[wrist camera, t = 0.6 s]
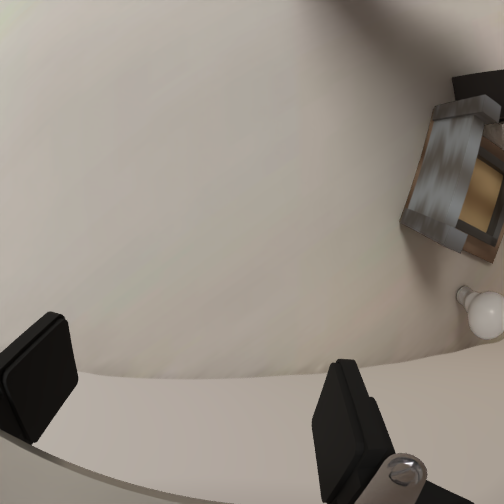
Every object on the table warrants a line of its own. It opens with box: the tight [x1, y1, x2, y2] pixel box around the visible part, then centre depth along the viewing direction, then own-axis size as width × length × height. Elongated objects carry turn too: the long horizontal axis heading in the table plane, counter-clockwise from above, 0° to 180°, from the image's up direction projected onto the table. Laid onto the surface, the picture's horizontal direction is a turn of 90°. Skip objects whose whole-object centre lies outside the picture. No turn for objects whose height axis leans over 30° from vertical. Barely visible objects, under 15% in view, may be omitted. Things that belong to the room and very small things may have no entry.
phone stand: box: [452, 70, 504, 124], centre depth 26 cm, size 9×6×12 cm, turn 97°
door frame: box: [399, 94, 504, 264], centre depth 30 cm, size 16×18×12 cm
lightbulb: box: [457, 286, 504, 340], centre depth 35 cm, size 6×6×11 cm
